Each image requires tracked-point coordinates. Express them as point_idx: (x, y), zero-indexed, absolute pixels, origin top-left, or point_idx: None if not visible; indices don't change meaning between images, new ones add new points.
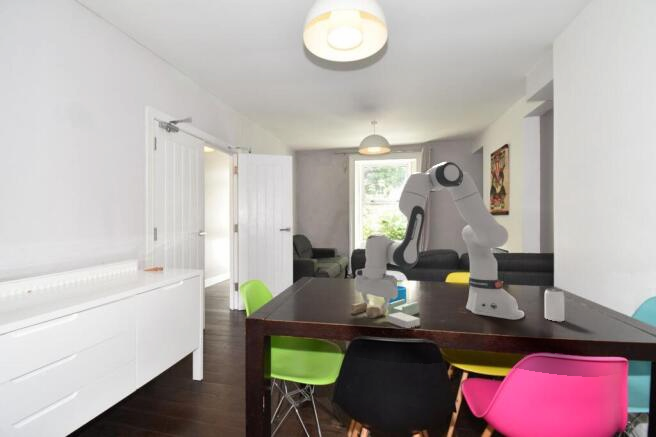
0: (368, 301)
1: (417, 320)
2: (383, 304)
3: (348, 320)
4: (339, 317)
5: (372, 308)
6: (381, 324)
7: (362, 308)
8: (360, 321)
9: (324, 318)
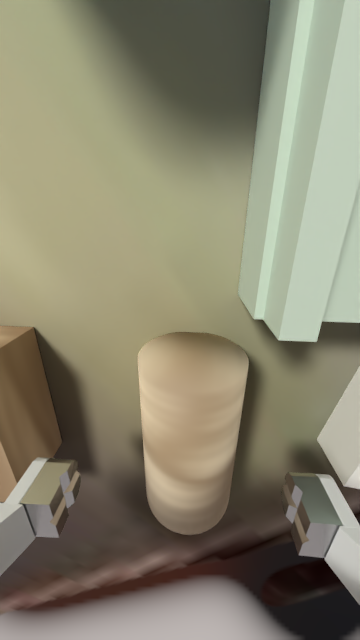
0: (60, 481)
1: None
2: (322, 555)
3: (131, 525)
4: None
5: (207, 528)
6: None
7: (30, 394)
8: None
9: (39, 552)
